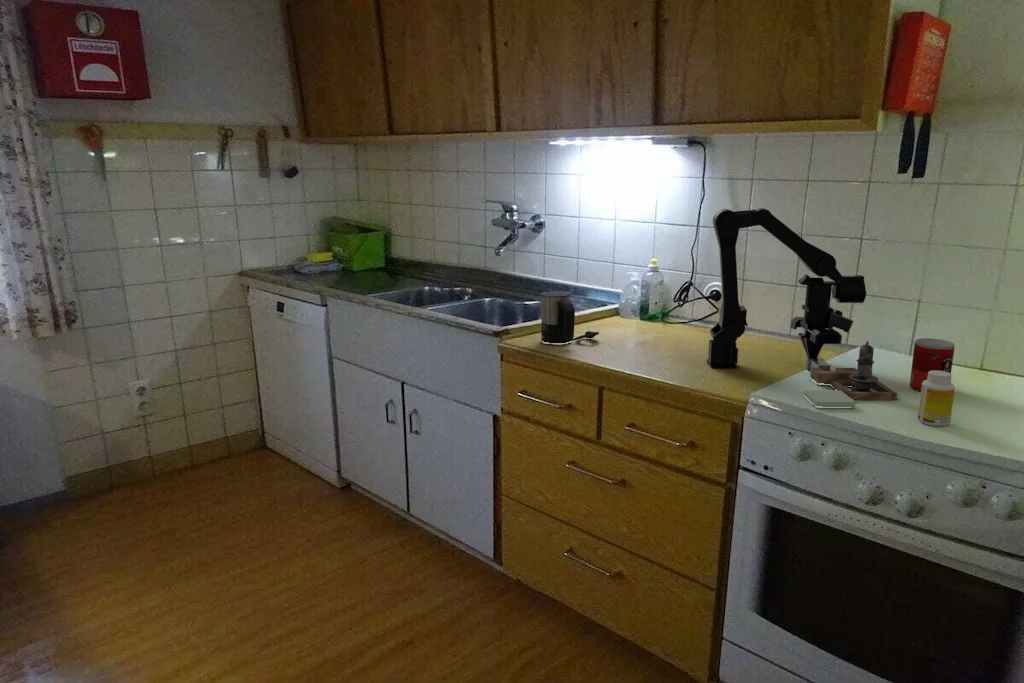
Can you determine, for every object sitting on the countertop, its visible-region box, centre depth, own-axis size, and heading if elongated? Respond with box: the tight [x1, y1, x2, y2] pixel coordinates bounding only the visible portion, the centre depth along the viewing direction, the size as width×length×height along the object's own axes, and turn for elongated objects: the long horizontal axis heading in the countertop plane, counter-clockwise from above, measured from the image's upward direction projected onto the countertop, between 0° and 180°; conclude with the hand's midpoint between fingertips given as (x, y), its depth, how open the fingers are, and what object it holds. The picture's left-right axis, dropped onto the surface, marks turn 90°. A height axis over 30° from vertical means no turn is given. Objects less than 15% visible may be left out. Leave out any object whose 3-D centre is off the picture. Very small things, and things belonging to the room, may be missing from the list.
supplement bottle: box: [917, 370, 956, 427], centre depth 139 cm, size 6×6×10 cm
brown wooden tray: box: [809, 367, 898, 401], centre depth 161 cm, size 13×15×3 cm
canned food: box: [909, 337, 955, 393], centre depth 160 cm, size 8×8×11 cm
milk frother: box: [539, 290, 600, 343], centre depth 208 cm, size 14×16×15 cm
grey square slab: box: [802, 389, 856, 409], centre depth 153 cm, size 8×8×2 cm
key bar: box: [805, 357, 831, 371], centre depth 175 cm, size 4×7×3 cm, turn 177°
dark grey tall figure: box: [849, 341, 879, 392], centre depth 158 cm, size 6×6×12 cm
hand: (812, 363), depth 179 cm, fingers closed
